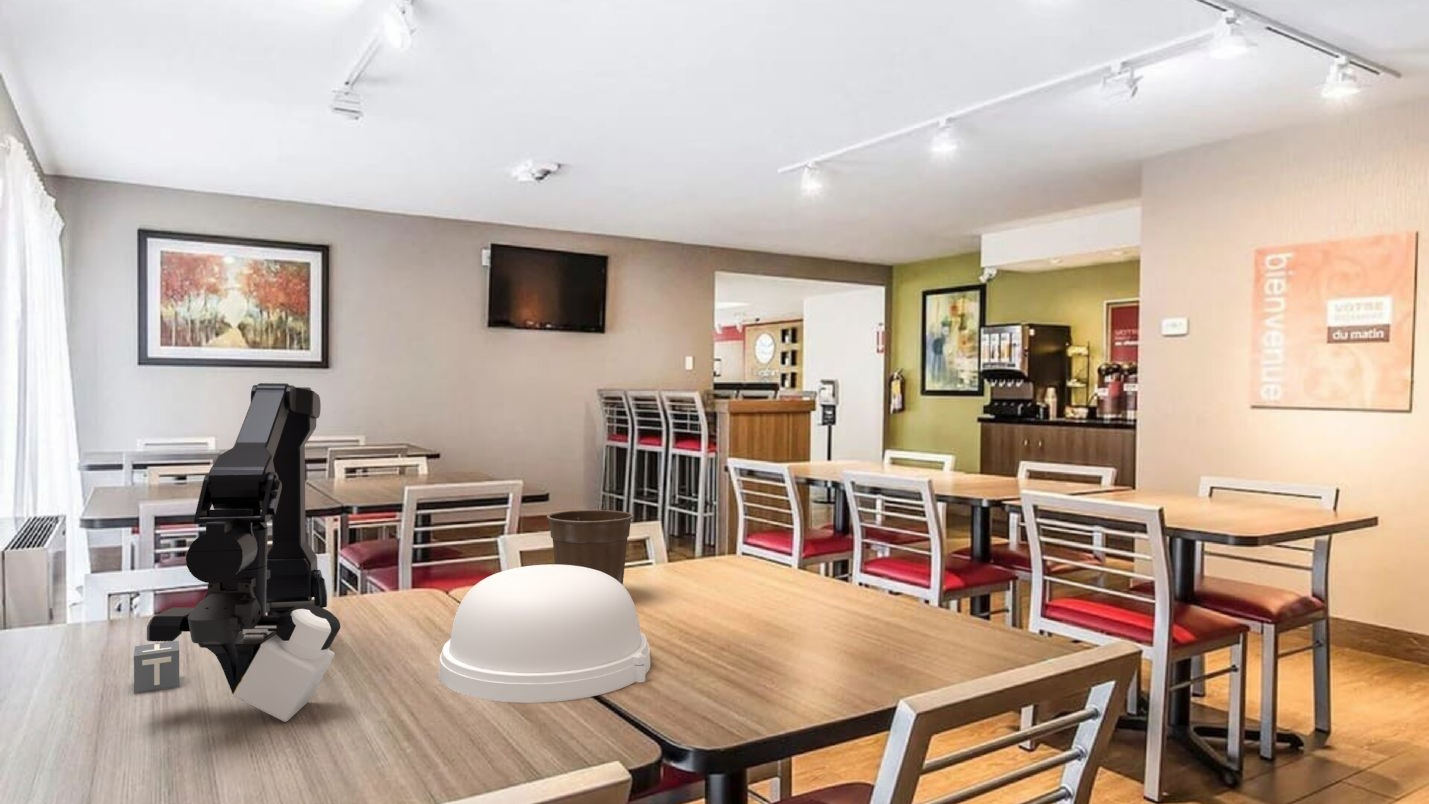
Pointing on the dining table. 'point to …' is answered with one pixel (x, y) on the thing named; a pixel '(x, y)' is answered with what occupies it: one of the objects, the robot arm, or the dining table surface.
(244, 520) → the robot arm
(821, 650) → the dining table surface
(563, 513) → the plant pot
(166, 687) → the lettered cube
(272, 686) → the medicine bottle
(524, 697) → the dome cover
